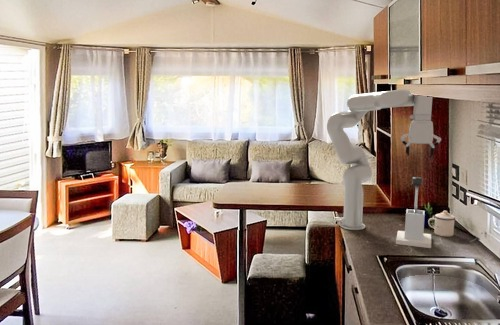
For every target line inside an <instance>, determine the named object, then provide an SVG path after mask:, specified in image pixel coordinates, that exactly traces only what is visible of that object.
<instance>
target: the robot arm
mask: <svg viewBox="0 0 500 325" xmlns="http://www.w3.org/2000/svg"><path fill="white" fill-rule="evenodd" d="M409 90H410V89H396V90H386V91H375V92H374V91H373V92H365V93H357V94H352V95H351V96H350V97H348V99H347V102H346V106H347V109H348V111H338V112H335V113H332V114H331V115H330V116H329V118H328V120H327V123H326V131H327V133H328V136H329V138H330V140H331V143H332V145H333V148H334V151H335V154H336V156H337V157H338V158H337V159H338V161H339V162H340V164H342V165H343V166H349V165H350V166H349V167H347V168H346V169H345V170H344V172H343V175H342V181H343V188H344V189H343V190H344V192H343V194H344V195H343V217H342V216H341V217H338V216H335V217H334V221H335V222H337V223H339V226H340V227H341V228H342V229H345V230H350V231H361V230H364V229H365V228H366V225H365V224H364V223H363V212H364V211H363V208H364V189H363V188H364V187H363V183H367V182H369V181H370V180H371V179H372V176H373V172H372V168H371V165H370V162H369V160H368V158H367V157H368V156H367V155H366V153H365V151H364V149H363V148H362V147H361V146H359V145H356V144H354V145H353V144H352V143H351V141H350V137H349V136H348V134H347V133H346V132H345V130H344V129H349V128H353V127H355V126H356V125H358V123H359V122H361V120H362V119H363V117H365V115H366V114H367V113H368V112H370V111H380V110H381V109H388V108H400V107H413V114H411V115H410V114H409V119H412V120H411V121H410V122H409V123H410V124H409V130H408V133H406V134H403V135H401V136H400V137H399V138H400V140H401V142H402V144H403V145H404V146H405V147H406V148H405V154H406V155H407V157H408V156H410V145H411V144H417V145H418V144H419V145H423V144H424V145H429V146H430V149H429V157H430V158H432V156H434V153H435V151H434V150H435V148H436V147H437V146H438V145H439V144H440V142H441V141H442V138H441V137H439V136H437V135H435V134H434V124H433V121H432V107H433V97H427V96H418V95H412V94H411V93H410V91H409ZM405 138H408V142H407V141H406V140H405ZM434 139H435V140H436V142H434V143H433V141H434Z"/></svg>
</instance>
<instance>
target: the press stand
mask: <svg viewBox="0 0 500 325" xmlns="http://www.w3.org/2000/svg"><path fill="white" fill-rule="evenodd" d="M405 212H406V213H405V222H404V224H405V226H404V230H397V234H396V238H395V244H396V245H400V246H410V247H418V248H425V249H426V248H427V249H431V248H432V233H426V232H425V233H424V231H425V216H426V214H425V212H426V211H425V210H420V209H417V213H422V214H414V213H409V212H414V209H408V208H406V210H405Z"/></svg>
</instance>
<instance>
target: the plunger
mask: <svg viewBox="0 0 500 325" xmlns="http://www.w3.org/2000/svg"><path fill="white" fill-rule="evenodd" d="M411 178H412V180H411V185H413V186H415V190H414V191H415V192H414V205H413V206H414V207H413V208H414V209H413V210H414V212H409V213H414V214H422V213H417V210H418V199H419V198H418V196H419V186H422V185H423V181H424V180H423V177H421V176H420V177H419V176H412V177H411Z"/></svg>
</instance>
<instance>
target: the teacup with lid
mask: <svg viewBox="0 0 500 325" xmlns="http://www.w3.org/2000/svg"><path fill="white" fill-rule="evenodd" d="M427 220H428V221H427V223H428V226H429V227H430V228H432V229H434V232H433V233H434V234H435V235H437V236H441V237H447V238H448V237H452V236H454V234H455V233H454V231H455V230H454V229H455V221H456V216H454V215H453V214H451V213H449V212H448V210H443V211H442V212H440V213H436V214H435V215H434V217H430V218H429V219H427ZM432 220H434V226H433V225H432V224H431V221H432Z"/></svg>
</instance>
